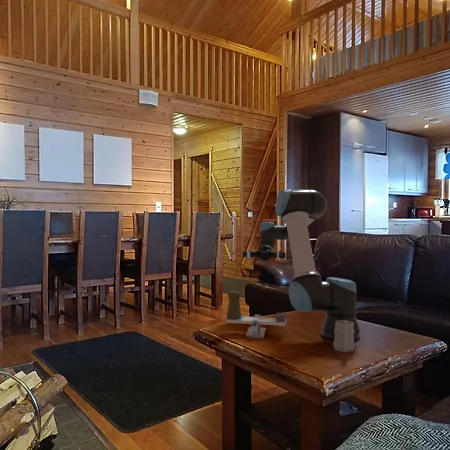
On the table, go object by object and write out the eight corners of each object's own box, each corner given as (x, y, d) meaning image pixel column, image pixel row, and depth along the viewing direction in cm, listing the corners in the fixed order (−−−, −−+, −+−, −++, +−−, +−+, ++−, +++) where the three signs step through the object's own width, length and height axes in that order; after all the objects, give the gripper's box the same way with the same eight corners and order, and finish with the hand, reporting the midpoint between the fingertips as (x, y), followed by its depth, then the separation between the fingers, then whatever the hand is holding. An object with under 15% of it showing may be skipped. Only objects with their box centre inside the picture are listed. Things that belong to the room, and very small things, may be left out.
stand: (265, 330, 179) (266, 314, 179) (263, 338, 168) (263, 321, 167) (249, 329, 181) (249, 313, 180) (245, 337, 169) (246, 320, 169)
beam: (286, 321, 175) (286, 312, 175) (285, 325, 168) (285, 316, 168) (227, 318, 180) (227, 309, 180) (224, 322, 173) (224, 313, 173)
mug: (353, 346, 158) (354, 314, 158) (357, 357, 147) (358, 322, 146) (332, 345, 160) (332, 313, 159) (334, 355, 148) (335, 321, 148)
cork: (244, 318, 175) (244, 291, 175) (232, 320, 172) (232, 293, 171) (235, 315, 180) (235, 289, 180) (223, 317, 176) (224, 290, 176)
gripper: (290, 260, 211) (290, 265, 190) (241, 259, 215) (235, 263, 194) (290, 245, 211) (290, 248, 190) (241, 245, 215) (235, 247, 194)
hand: (262, 256), depth 192 cm, fingers open, 13 cm apart
